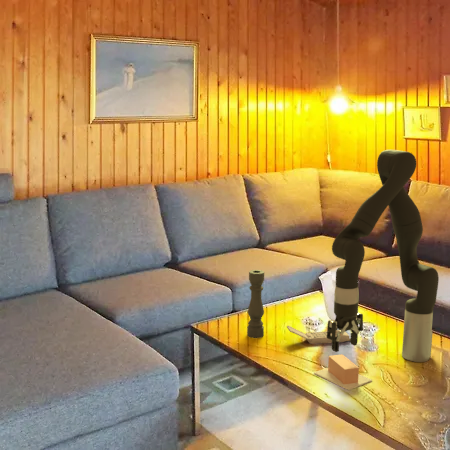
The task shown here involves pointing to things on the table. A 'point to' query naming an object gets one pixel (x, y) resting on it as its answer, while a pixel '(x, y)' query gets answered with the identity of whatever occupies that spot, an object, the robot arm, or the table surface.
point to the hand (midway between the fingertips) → (344, 347)
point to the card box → (343, 369)
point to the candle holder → (255, 305)
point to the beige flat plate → (330, 377)
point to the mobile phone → (318, 336)
